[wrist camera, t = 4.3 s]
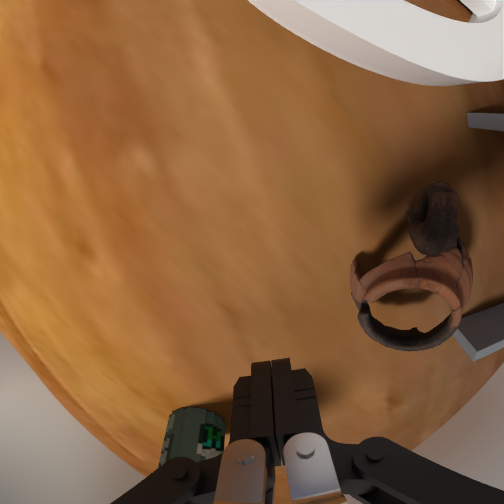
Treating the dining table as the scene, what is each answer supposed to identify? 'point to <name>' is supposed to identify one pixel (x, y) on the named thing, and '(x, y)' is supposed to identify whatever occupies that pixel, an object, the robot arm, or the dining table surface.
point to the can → (193, 435)
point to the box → (495, 318)
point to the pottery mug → (420, 272)
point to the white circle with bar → (401, 37)
